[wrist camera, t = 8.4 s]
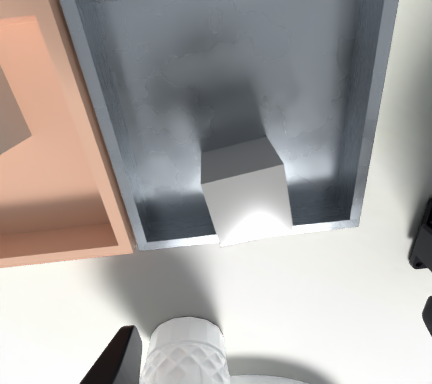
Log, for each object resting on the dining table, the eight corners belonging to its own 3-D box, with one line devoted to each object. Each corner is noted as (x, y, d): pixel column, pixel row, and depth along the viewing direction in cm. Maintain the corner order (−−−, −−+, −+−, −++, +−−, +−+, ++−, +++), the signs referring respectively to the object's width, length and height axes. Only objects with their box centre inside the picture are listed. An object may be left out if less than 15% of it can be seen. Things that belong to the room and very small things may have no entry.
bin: (374, -48, 13) (410, -65, 10) (340, 205, 19) (358, 226, 17) (78, -10, 13) (53, -18, 11) (146, 226, 20) (139, 251, 17)
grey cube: (266, 136, 16) (283, 164, 13) (276, 193, 18) (293, 230, 15) (201, 153, 17) (200, 184, 13) (217, 207, 19) (220, 247, 15)
